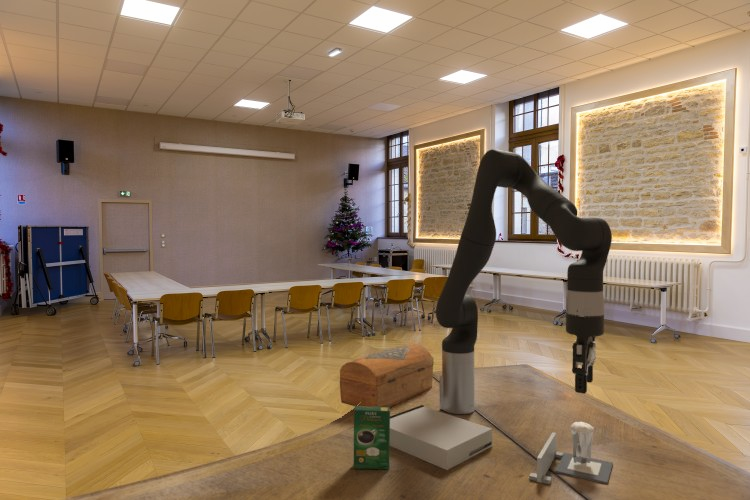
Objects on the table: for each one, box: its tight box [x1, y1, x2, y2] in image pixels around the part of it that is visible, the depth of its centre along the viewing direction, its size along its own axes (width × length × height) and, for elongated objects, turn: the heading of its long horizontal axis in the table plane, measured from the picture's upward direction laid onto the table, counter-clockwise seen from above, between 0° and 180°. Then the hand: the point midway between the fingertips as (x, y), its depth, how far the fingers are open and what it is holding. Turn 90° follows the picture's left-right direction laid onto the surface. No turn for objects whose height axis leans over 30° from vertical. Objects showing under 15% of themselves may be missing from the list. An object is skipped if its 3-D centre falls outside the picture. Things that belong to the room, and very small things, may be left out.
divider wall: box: [528, 431, 564, 485], centre depth 107 cm, size 4×15×5 cm, turn 149°
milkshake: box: [570, 419, 598, 468], centre depth 106 cm, size 4×5×10 cm
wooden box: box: [339, 343, 435, 408], centre depth 157 cm, size 30×16×14 cm, turn 140°
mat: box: [555, 452, 613, 485], centre depth 106 cm, size 10×10×1 cm
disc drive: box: [389, 404, 493, 471], centre depth 120 cm, size 18×22×5 cm
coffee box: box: [353, 406, 391, 471], centre depth 108 cm, size 8×3×13 cm, turn 86°
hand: (584, 387), depth 106 cm, fingers open, 8 cm apart
